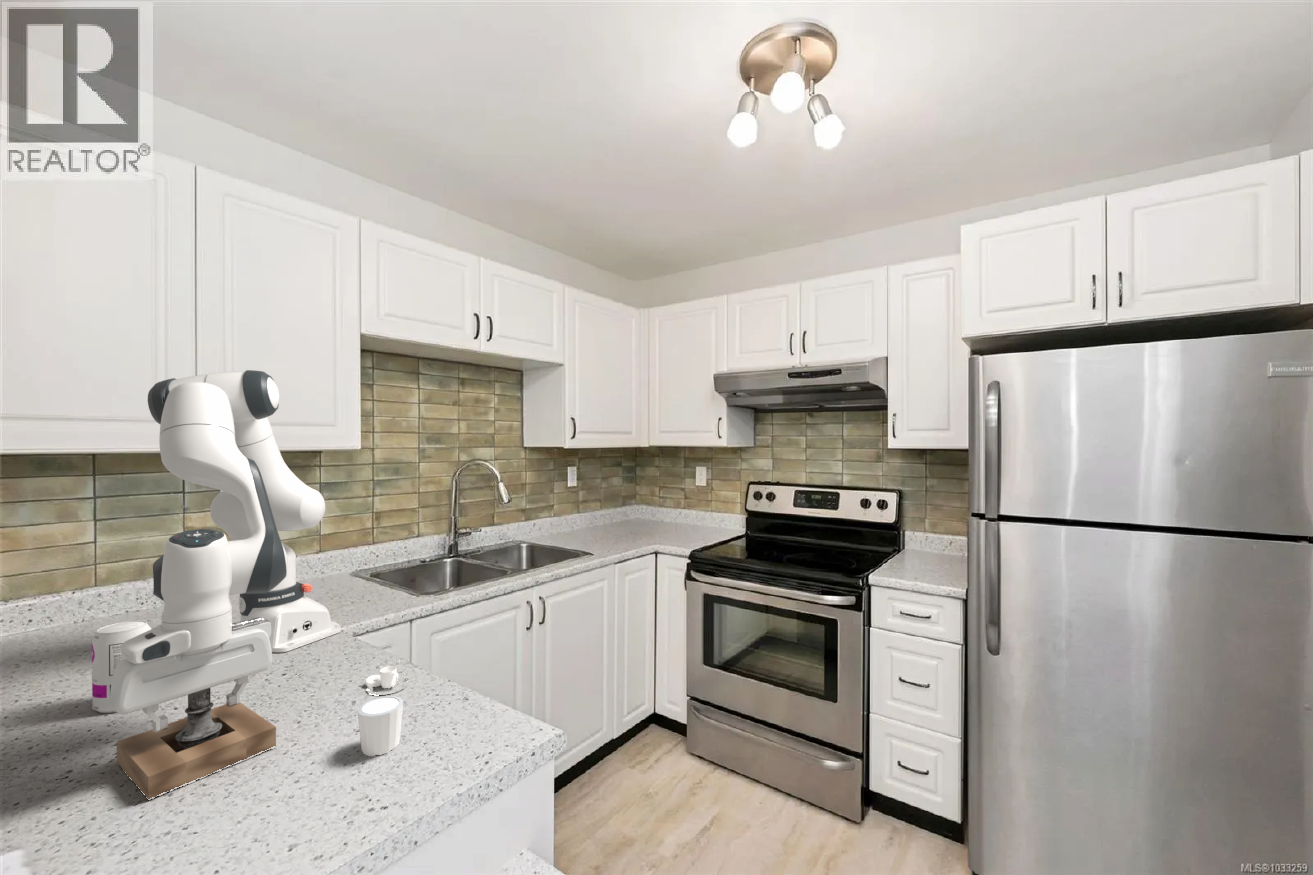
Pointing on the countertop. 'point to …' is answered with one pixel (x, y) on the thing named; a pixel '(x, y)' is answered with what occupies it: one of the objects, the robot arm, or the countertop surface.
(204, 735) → the grey tall rounded piece
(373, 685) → the teacup and saucer
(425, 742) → the countertop surface
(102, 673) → the supplement can
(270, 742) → the holder
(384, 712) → the white cylinder
